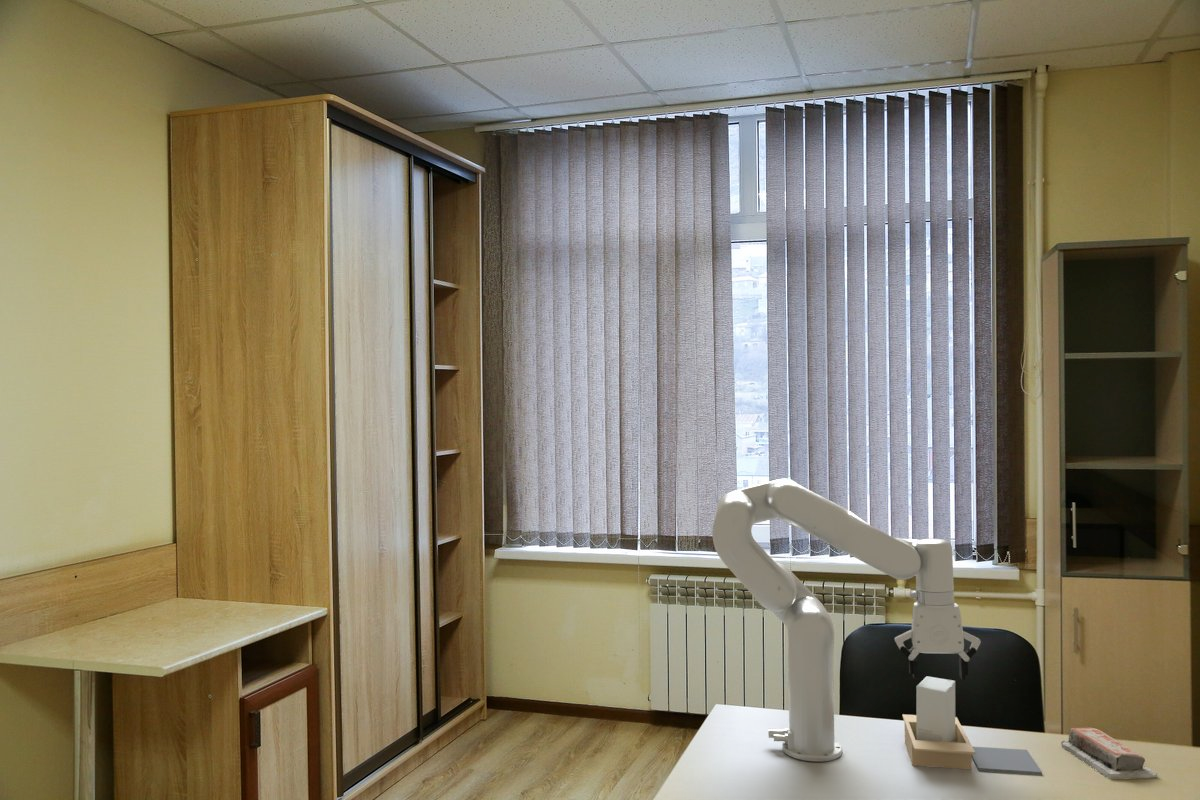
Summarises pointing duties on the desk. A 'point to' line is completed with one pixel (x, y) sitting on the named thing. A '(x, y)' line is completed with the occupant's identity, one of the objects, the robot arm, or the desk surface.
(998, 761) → the mat
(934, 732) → the skincare box
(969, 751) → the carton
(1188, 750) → the desk surface
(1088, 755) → the packaged product
